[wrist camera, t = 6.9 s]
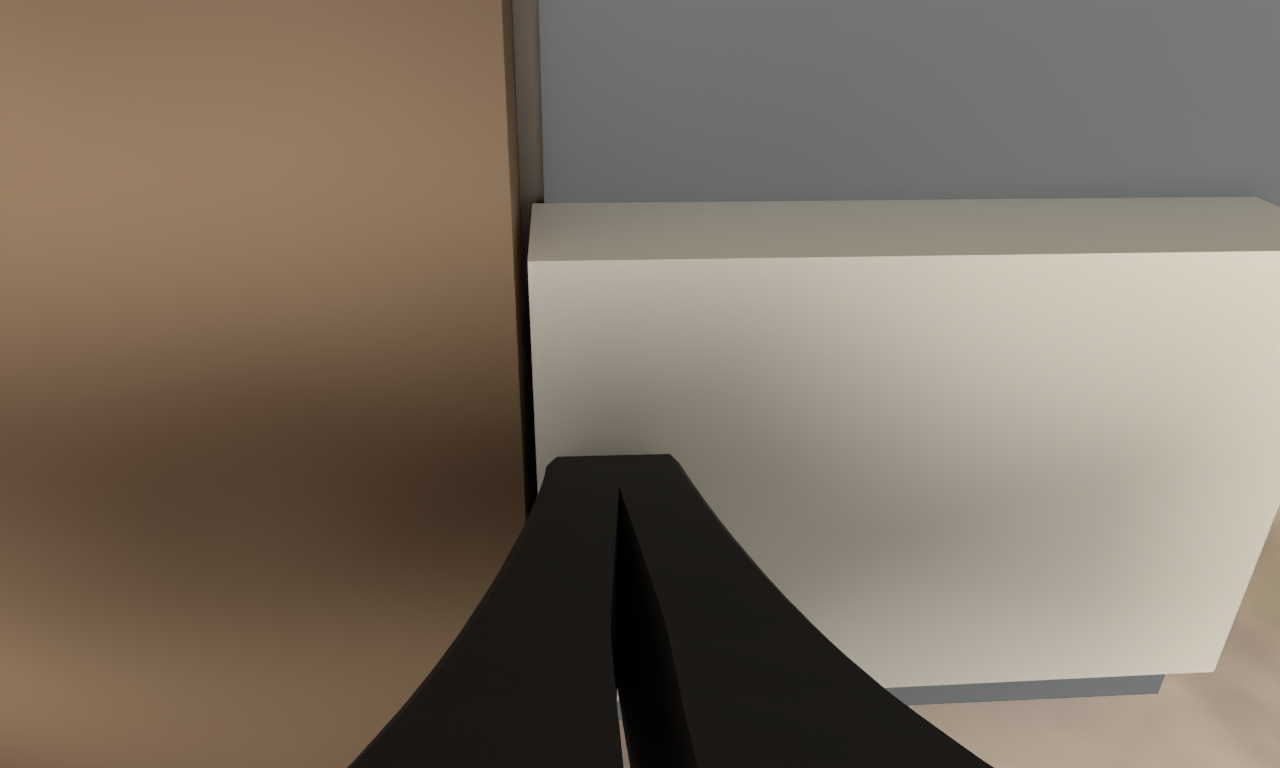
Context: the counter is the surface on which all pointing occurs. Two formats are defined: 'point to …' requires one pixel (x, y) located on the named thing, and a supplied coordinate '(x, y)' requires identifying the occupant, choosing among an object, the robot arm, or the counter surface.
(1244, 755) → the counter surface
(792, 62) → the mat
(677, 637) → the robot arm
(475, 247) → the brown block
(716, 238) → the cream rectangular tile
